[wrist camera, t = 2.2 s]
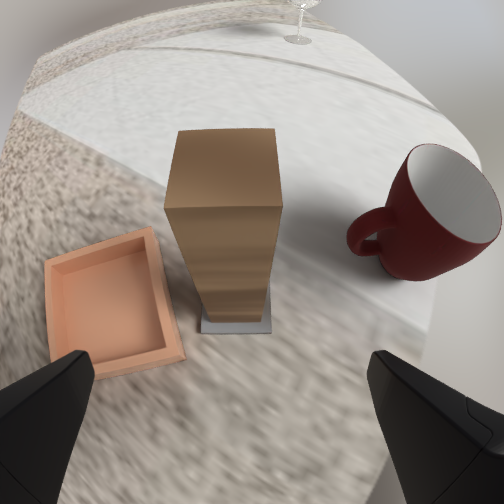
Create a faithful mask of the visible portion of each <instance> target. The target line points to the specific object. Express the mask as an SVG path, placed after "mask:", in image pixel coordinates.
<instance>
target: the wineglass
mask: <svg viewBox="0 0 504 504" xmlns="http://www.w3.org/2000/svg"><path fill="white" fill-rule="evenodd" d="M287 1H288V2H289V3H290V4H291V5H293V6H295V7H297V9H298V10H299V18H298V34H297V35H287V36H285V37H284V39H285V40H286V41H288V42H291V43H295V44H309V43H311V42H312V41H311V39H309V38H307V37H305V36H301V35H300V29H301V23H302V17H303V11H305V10H306V9H307V8H311V7H314V6H316V5H318V4H319V3H320V2H321V0H287Z"/></svg>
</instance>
